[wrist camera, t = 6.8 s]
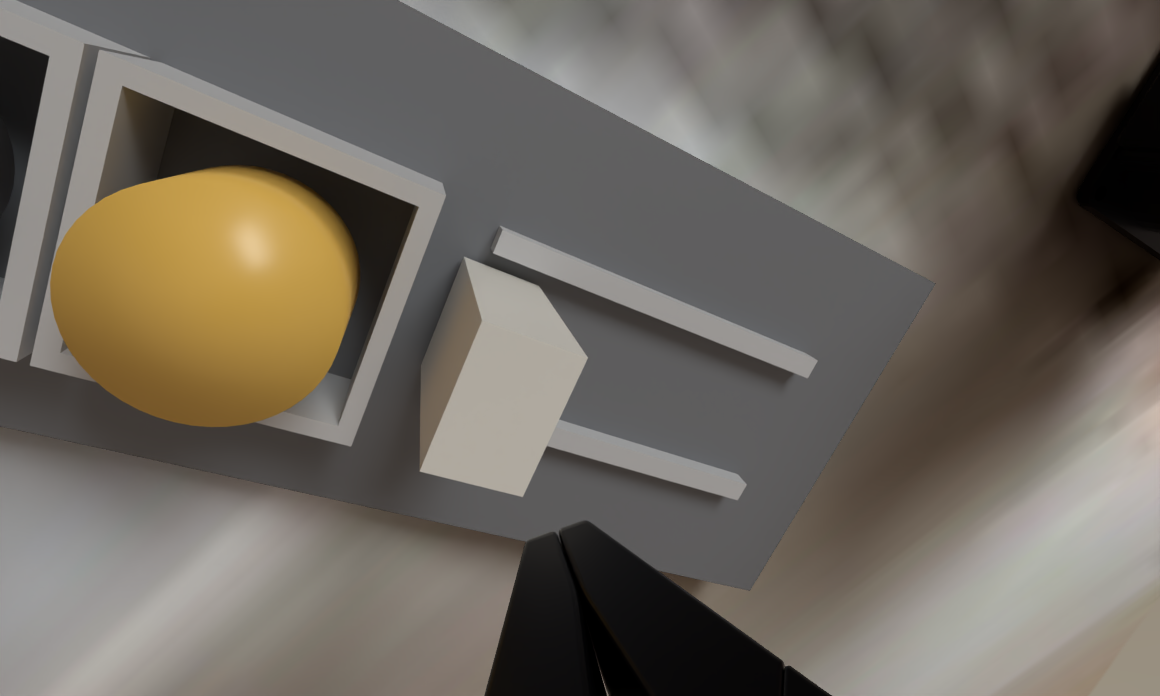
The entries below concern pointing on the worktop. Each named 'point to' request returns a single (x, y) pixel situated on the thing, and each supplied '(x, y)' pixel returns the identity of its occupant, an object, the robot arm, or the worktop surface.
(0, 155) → the grey button
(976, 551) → the worktop surface
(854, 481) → the worktop surface
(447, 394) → the slider paddle
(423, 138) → the panel
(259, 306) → the amber button
